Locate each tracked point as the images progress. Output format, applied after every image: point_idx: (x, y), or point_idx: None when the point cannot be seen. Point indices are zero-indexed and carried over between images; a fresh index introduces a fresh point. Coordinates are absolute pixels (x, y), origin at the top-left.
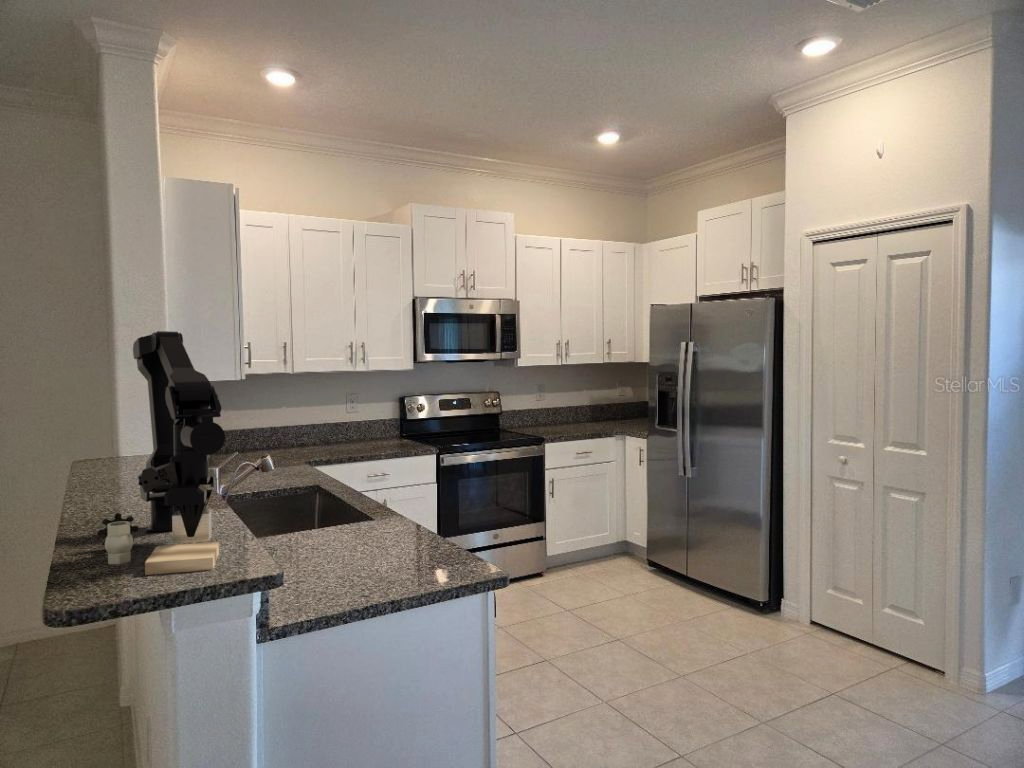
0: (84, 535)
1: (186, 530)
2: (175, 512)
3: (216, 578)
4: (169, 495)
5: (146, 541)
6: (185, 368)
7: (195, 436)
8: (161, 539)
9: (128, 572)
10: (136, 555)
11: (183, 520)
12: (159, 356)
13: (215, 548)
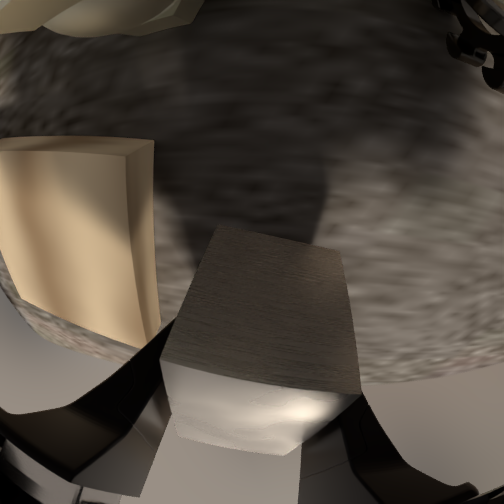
0: None
1: (172, 324)
2: (301, 392)
3: (6, 272)
4: None
5: (491, 131)
6: None
7: None
8: (483, 191)
9: (24, 80)
10: (239, 43)
11: (128, 362)
12: None
13: (79, 324)
